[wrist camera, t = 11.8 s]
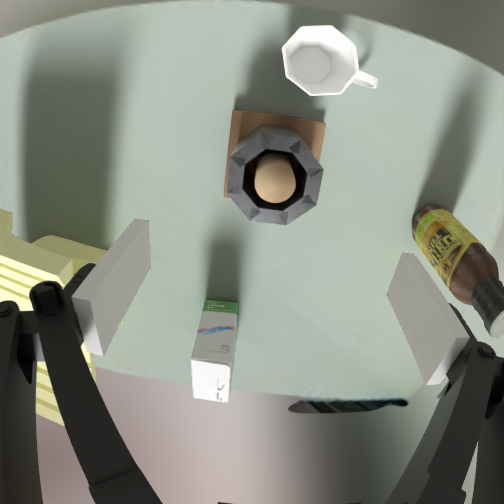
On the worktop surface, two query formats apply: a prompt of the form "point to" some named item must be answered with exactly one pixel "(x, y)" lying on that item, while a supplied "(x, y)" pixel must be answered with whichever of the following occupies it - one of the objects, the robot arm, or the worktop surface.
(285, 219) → the grey hollow octagonal piece
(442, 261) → the sauce bottle
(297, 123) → the post
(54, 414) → the slatted curved stool
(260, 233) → the worktop surface
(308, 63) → the cup
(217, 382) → the ink box
